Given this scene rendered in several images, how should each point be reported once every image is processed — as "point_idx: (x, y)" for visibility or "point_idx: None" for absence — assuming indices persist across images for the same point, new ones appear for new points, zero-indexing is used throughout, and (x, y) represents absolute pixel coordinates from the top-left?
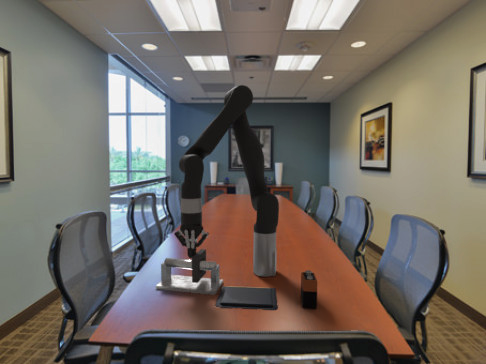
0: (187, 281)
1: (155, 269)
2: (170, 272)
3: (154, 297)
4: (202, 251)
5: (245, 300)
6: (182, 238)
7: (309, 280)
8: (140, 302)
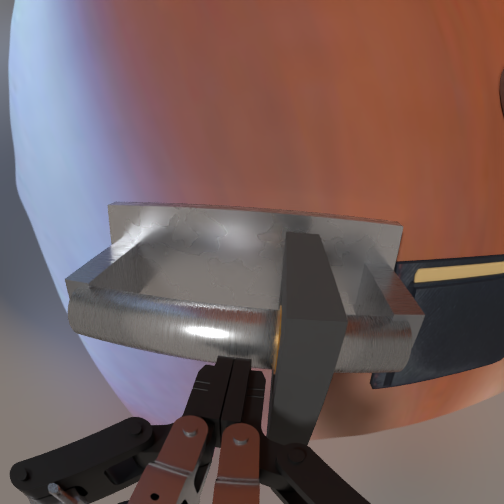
0: (226, 268)
1: (38, 137)
2: (123, 264)
3: (161, 357)
4: (319, 378)
5: (456, 364)
6: (109, 484)
7: None
8: (145, 378)
